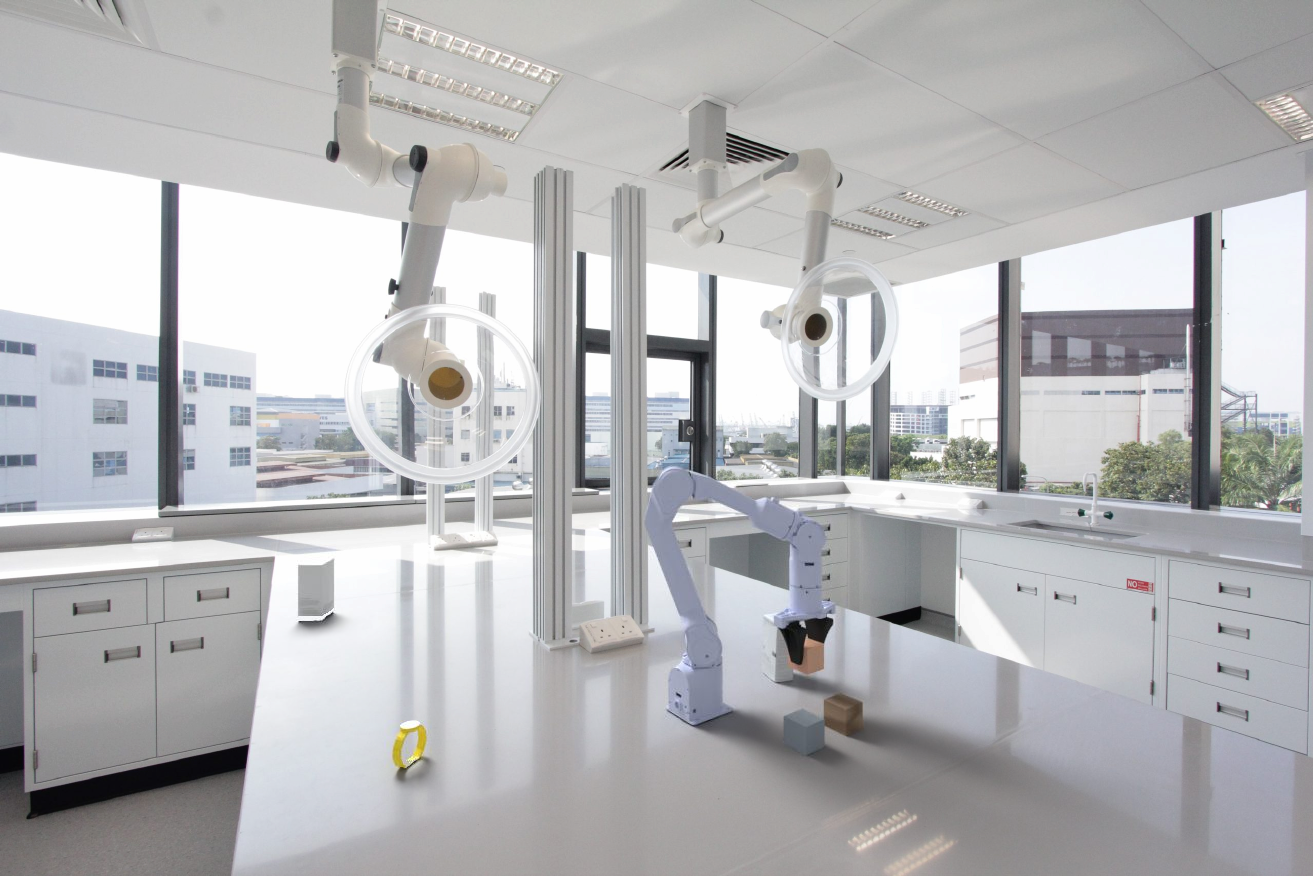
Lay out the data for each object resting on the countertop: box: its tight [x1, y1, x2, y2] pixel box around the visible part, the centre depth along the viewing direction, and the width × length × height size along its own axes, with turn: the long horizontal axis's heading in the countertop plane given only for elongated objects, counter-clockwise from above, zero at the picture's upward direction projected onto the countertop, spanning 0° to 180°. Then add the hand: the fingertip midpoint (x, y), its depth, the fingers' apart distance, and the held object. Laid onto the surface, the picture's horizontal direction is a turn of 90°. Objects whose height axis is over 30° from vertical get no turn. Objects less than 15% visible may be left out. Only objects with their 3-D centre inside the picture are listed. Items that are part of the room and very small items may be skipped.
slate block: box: [783, 708, 826, 756], centre depth 95 cm, size 4×4×4 cm
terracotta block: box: [788, 637, 825, 676], centre depth 108 cm, size 4×4×4 cm
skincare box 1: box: [297, 557, 335, 617], centre depth 163 cm, size 8×7×16 cm
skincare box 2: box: [761, 612, 794, 683], centre depth 122 cm, size 6×4×12 cm
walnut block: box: [823, 692, 864, 737], centre depth 101 cm, size 4×4×4 cm
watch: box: [391, 720, 428, 769], centre depth 91 cm, size 6×3×6 cm, turn 163°
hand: (805, 659), depth 108 cm, fingers closed on terracotta block, 4 cm apart
